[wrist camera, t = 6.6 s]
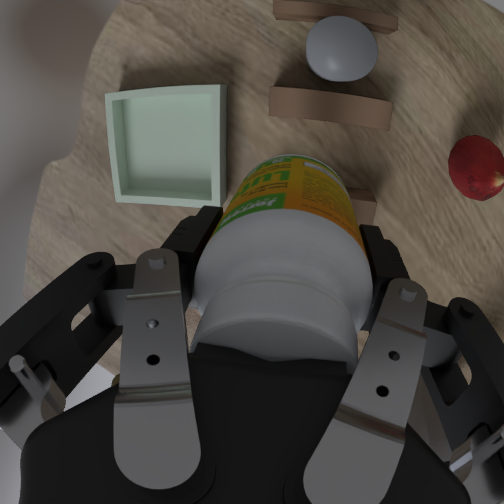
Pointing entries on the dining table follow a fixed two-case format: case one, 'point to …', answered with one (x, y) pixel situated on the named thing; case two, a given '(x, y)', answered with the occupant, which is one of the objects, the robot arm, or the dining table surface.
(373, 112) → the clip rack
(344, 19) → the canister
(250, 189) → the supplement bottle
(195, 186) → the tray
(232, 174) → the dining table surface
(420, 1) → the dining table surface
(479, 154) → the onion
